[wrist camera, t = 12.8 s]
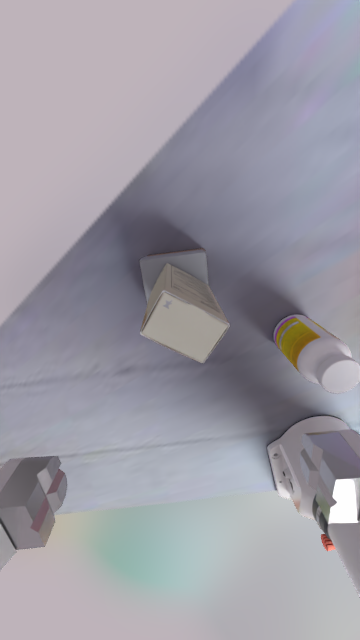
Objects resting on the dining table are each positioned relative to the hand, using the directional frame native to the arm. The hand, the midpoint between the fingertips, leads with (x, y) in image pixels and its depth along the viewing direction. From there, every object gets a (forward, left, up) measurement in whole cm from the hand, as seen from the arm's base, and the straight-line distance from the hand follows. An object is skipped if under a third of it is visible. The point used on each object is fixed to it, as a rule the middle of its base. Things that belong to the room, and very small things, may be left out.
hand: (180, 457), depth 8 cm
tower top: (0, 0, -28) cm, 28 cm away
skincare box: (0, -1, -24) cm, 24 cm away
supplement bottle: (-11, -18, -31) cm, 37 cm away
